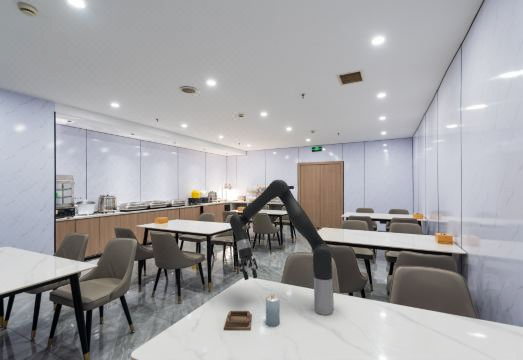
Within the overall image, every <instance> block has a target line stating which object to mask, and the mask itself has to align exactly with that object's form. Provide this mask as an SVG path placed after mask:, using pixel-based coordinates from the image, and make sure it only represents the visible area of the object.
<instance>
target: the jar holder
mask: <svg viewBox="0 0 523 360" xmlns="http://www.w3.org/2000/svg"><path fill="white" fill-rule="evenodd" d="M252 319H253V314H251V312H250V311H249V310H230V311H229V312H228V313H227V316H226V319H225V323H224V326H223V331H251V330H252V322H253V321H252Z"/></svg>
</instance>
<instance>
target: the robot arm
mask: <svg viewBox="0 0 523 360" xmlns="http://www.w3.org/2000/svg"><path fill="white" fill-rule="evenodd" d="M276 198H279V200H280V201H281V203H282V204H283V206H284V207H285V210H286V214H287V216H288V218H289V221H290V222H291V224H292V225H293V227H294V228H295V230H297V232H298V233H299V234H300V235H301V236H302V237H303V238H304V239H305V240H306V241H307V242H308V244H309V245H310V248H311V250H312V251H313V253H312V266H313V267H312V268H313V271H312V272H313V294H314V295H313V298H314V299H313V300H314V301H313V302H314V304H313V307H314V312H315V313H317V314H319V315H321V316H330V315H332V314H333V313H334V310H335V309H334V308H335V306H334V290H333V265H332V264H333V263H332V262H333V259H332V258H333V252H332V249H331V247H330V246H329V245H328V244H327V243H326V242H325V240H324V239H323V238H322V237H321V235H320V234H319V232H318V231H317V229H316V227H315V225H314V223H313V222H312V220H311V219H310V216H308V214H307V212H306V211H305V210H304V209H303V207H302V206H301V205H300V203H299V202H298V201H297V199H296V198H295V197H294V195H293V193H292V191H291V189H290V187H289V185H288V183H287V182H286V181H285V180H282V179H274V180H272V181H271V182H270V183H269V185H268V186H267V187H266V188H265V190H264V191H262V193H261V194H260V195H258V196H257V197H256V198H255V199H254V200H253V201H251V202H250V203H249V204H248V205H246V206H245V207H244V208H243V209H242V214H233V215H231V216H230V219H229V224H230V227H231V230H232V231H233V234H234V237H235V242H236V247H237V248H236V249H237V251H238V252H237V253H238V258H239V259H238V260H237V263H238V264H237V265H238V268H239V269H238V270H239V272H241V273H242V275H243V279H244V281H247V280H249V278H250V277H249V273H248V269H250V270H251V273H252V276H253V279H257V278H258V274H257V270H258V269H259V267H258V263H257V259H256V258H252V256H253V249H252V245H251V242H250V240H249V235H248V231H247V230H245V229H244V228H243V227H245V226H247V225H248V223H249V222H250V221H251V219H252V218H254V217H255V216H256V215H257V214H258V213H260V211H262V209H264V207H265V206H266V205H268V203H270V202H271V201H272V200H274V199H276Z"/></svg>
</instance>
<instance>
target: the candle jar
mask: <svg viewBox="0 0 523 360" xmlns="http://www.w3.org/2000/svg"><path fill="white" fill-rule="evenodd" d="M280 300H281V299H280V298H279V297H278V296H276V295H275V294H272V295H271V294H270V296H267V297H266V298H265V325H266V326H268V327H270V328H271V327H272V328H273V327H274V328H276V327H278V326H279V325H280V322H281V321H280V319H281V318H280V317H281V316H280V315H281V314H280V313H281V312H280V308H281V307H280V302H281V301H280Z"/></svg>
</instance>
